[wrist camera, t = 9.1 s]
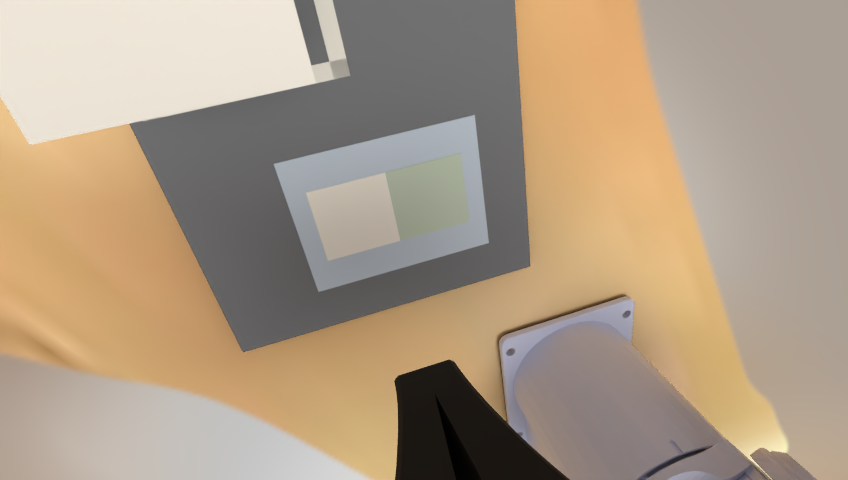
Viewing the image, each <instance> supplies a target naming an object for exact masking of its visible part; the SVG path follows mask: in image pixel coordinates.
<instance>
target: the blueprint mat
mask: <svg viewBox="0 0 848 480" xmlns="http://www.w3.org/2000/svg"><path fill="white" fill-rule="evenodd" d="M294 3H295V7H296V11H297V15H298V18H299V22H300V26H301V29H302V33H303V37H304V40H305V44H306V48H307V52H308V55H309V59H310V63H311V66H312V70H313V74H314V78H315V81H316V83H315V84H311V85H306V86H301V87H297V88H292V89H287V90H283V91H278V92H273V93H269V94H264V95H259V96H255V97H250V98H245V99H241V100H236V101H231V102H227V103H222V104H218V105H213V106H208V107H204V108H199V109H194V110H190V111H185V112H180V113H176V114H171V115H166V116H162V117H157V118H152V119H148V120H143V121H138V122H134V123H129V124H130V126H131V128H132V130H133V132H134V134H135V136H136V138H137V140H138V142H139V144H140V146H141V148H142V150H143V152H144V154H145V156H146V158H147V160H148V162H149V164H150V166H151V168H152V170H153V172H154V174H155V176H156V178H157V180H158V182H159V184H160V186H161V188H162V190H163V192H164V194H165V196H166V198H167V200H168V202H169V204H170V206H171V208H172V211H173V213H174V215H175V217H176V219H177V221H178V223H179V225H180V227H181V229H182V231H183V233H184V235H185V237H186V239H187V241H188V243H189V245H190V247H191V249H192V251H193V253H194V255H195V257H196V259H197V261H198V263H199V265H200V267H201V269H202V271H203V273H204V275H205V277H206V279H207V281H208V283H209V285H210V287H211V289H212V291H213V293H214V295H215V297H216V299H217V301H218V303H219V305H220V307H221V309H222V311H223V313H224V315H225V317H226V319H227V321H228V323H229V325H230V327H231V329H232V331H233V333H234V335H235V337H236V339H237V341H238V343H239V345H240V347H241V349H242V351H243V352H246V351H249V350H253V349H256V348H259V347H263V346H266V345H269V344H273V343H276V342H279V341H283V340H286V339H289V338H293V337H296V336H299V335H303V334H306V333H309V332H313V331H316V330H319V329H323V328H326V327H329V326H333V325H336V324H339V323H343V322H346V321H349V320H353V319H356V318H359V317H363V316H366V315H369V314H373V313H376V312H379V311H383V310H386V309H389V308H393V307H396V306H399V305H403V304H406V303H409V302H413V301H416V300H419V299H423V298H426V297H429V296H433V295H436V294H439V293H443V292H446V291H449V290H453V289H456V288H459V287H463V286H466V285H469V284H473V283H476V282H479V281H483V280H486V279H489V278H493V277H496V276H499V275H502V274H506V273H509V272H512V271H516V270H519V269H522V268H526V267H529V266H530V252H529V236H528V219H527V202H526V185H525V168H524V151H523V134H522V117H521V100H520V83H519V66H518V50H517V33H516V16H515V0H294Z"/></svg>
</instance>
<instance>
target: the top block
mask: <svg viewBox="0 0 848 480" xmlns="http://www.w3.org/2000/svg"><path fill="white" fill-rule="evenodd" d="M315 83H316V81H315V78H314V74H313V70H312V66H311V63H310V59H309V55H308V52H307V48H306V44H305V40H304V37H303V33H302V29H301V26H300V22H299V18H298V15H297V11H296V7H295V3H294V0H0V97H1V99H2V100H3V102H4V104H5V105H6V107H7V108H8V110H9V112H10V113H11V115H12V117H13V118H14V120H15V121H16V123H17V125H18V126H19V128H20V130H21V131H22V133H23V134H24V136H25V138H26V139H27V141H28V143H29V144H30V145H31V144H36V143H41V142H45V141H50V140H55V139H59V138H64V137H69V136H73V135H78V134H83V133H87V132H92V131H97V130H101V129H106V128H111V127H115V126H120V125H124V124H129V123H134V122H138V121H143V120H148V119H152V118H157V117H162V116H166V115H171V114H176V113H180V112H185V111H190V110H194V109H199V108H204V107H208V106H213V105H218V104H222V103H227V102H231V101H236V100H241V99H245V98H250V97H255V96H259V95H264V94H269V93H273V92H278V91H283V90H287V89H292V88H297V87H301V86H306V85H311V84H315Z"/></svg>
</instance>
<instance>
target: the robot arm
mask: <svg viewBox="0 0 848 480" xmlns="http://www.w3.org/2000/svg"><path fill="white" fill-rule="evenodd" d="M634 305H635V304H634V301H633V300H632V299H631V298H630V297H627V296H625V297H621V298H618V299H615V300H612V301H609V302H606V303H603V304H599V305H596V306H593V307H590V308H587V309H584V310H581V311H578V312H574V313H571V314H568V315H565V316H562V317H559V318H556V319H553V320H550V321H546V322H543V323H540V324H537V325H534V326H531V327H528V328H525V329H521V330H518V331H515V332H512V333H509V334H506V335H504V336H503V337H502V338H501V339H500V341H499V349H500V358H501V367H502V376H503V385H504V394H505V403H506V412H507V420H508V423H507V422H506V421H505V420H504V419H503V418H502V417H501V416H500V415H499V414H498V413H497V412H496V411H495V410H494V409H493V408H492V407H491V406H490V405H489V404H488V403H487V402H486V401H485V400H484V398H483V397H482V396H481V395H480V394H479V393H478V392H477V390H476V389H475V388H474V387H473V386H472V385H471V383H470V382H469V381H468V380H467V378H466V377H465V376H464V375H463V373H462V372H461V371H460V369H459V368H458V367H457V365H456V364H455V362H453V361H451V360H446V361H443V362H440V363H437V364H434V365H431V366H428V367H424V368H421V369H418V370H415V371H412V372H409V373H406V374H402V375H399V376H398V377H397V378H396V379H395V381H394V382H395V386H396V392H397V402H398V447H397V466H396V477H395V480H771V479H770V478H769V477H768V476H767V475H766V474H765V473H764V472H763V471H762V470H761V469H760V468H759V467H758V466H756V465H755V464H754V463H753V462H752V461H751V460H750V459H748V458H747V457H746V456H745V455H744V454H743V453H741V452H740V451H739V450H738V449H737V448H736V447H735V446H733V445H732V444H731V443H730V442H729V441H728V440H726V439H725V438H724V437H723V436H722V435H721V434H720V433H719V432H718V431H717V430H716V429H715V428H714V427H713V426H712V425H711V424H710V423H709V422H708V421H707V420H706V419H705V418H704V417H703V416H702V415H701V414H700V413H699V412H698V411H697V410H696V409H695V408H694V407H693V406H692V405H691V404H690V403H689V402H688V401H687V400H686V399H685V397H684V396H683V395H682V394H681V393H680V392H679V391H678V390H677V389H676V388H675V387H674V386H673V385H672V384H671V383H670V382H669V381H668V380H667V379H666V378H665V377H664V376H663V375H662V374H661V373H660V372H659V371H658V370H657V369H656V368H655V367H654V366H653V365H652V364H651V363H650V362H649V361H648V360H647V359H646V358H645V357H644V356H643V355H642V354H641V353H640V352H639V351H638V350H637V349H636V348H635V347H634V346H633V345H632V344H631V341H632V329H633V317H634ZM509 349H511V350H509ZM508 350H509V351H508ZM750 456H751V457H752V459H753V460H754V461H755V462H756V463H757V464H758V465H759V466H760V467H761V468H762V469H763V470H764V471H765V472H766V473H767V474H768V475H769V476H770V477H771V478H772V480H816V479H815V478H814V477H813V476H812V475H811V474H810V473H809V472H808V471H806V470H805V469H804V468H803V467H802V466H801V465H800V464H799V463H797V462H796V461H795V460H794V459H793V458H792V457H791V456H789V455H788V454H787V453H782V452H776V451H772V452H769V451H768V450H766V449H765V448H759V449H758V450H756V451H755V452H754V453H752V454H751V455H750Z"/></svg>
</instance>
